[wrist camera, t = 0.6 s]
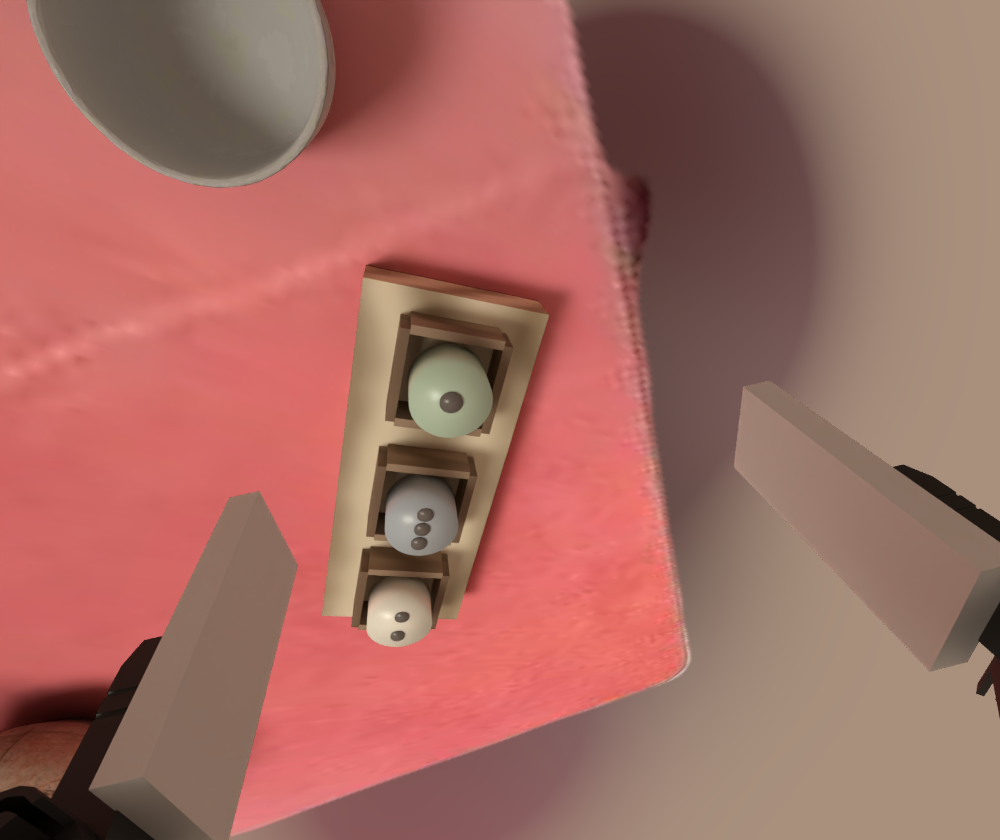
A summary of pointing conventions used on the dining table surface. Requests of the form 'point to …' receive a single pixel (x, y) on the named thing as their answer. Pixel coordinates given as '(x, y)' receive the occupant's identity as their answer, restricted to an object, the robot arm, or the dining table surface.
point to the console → (422, 431)
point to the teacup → (195, 79)
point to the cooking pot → (39, 753)
